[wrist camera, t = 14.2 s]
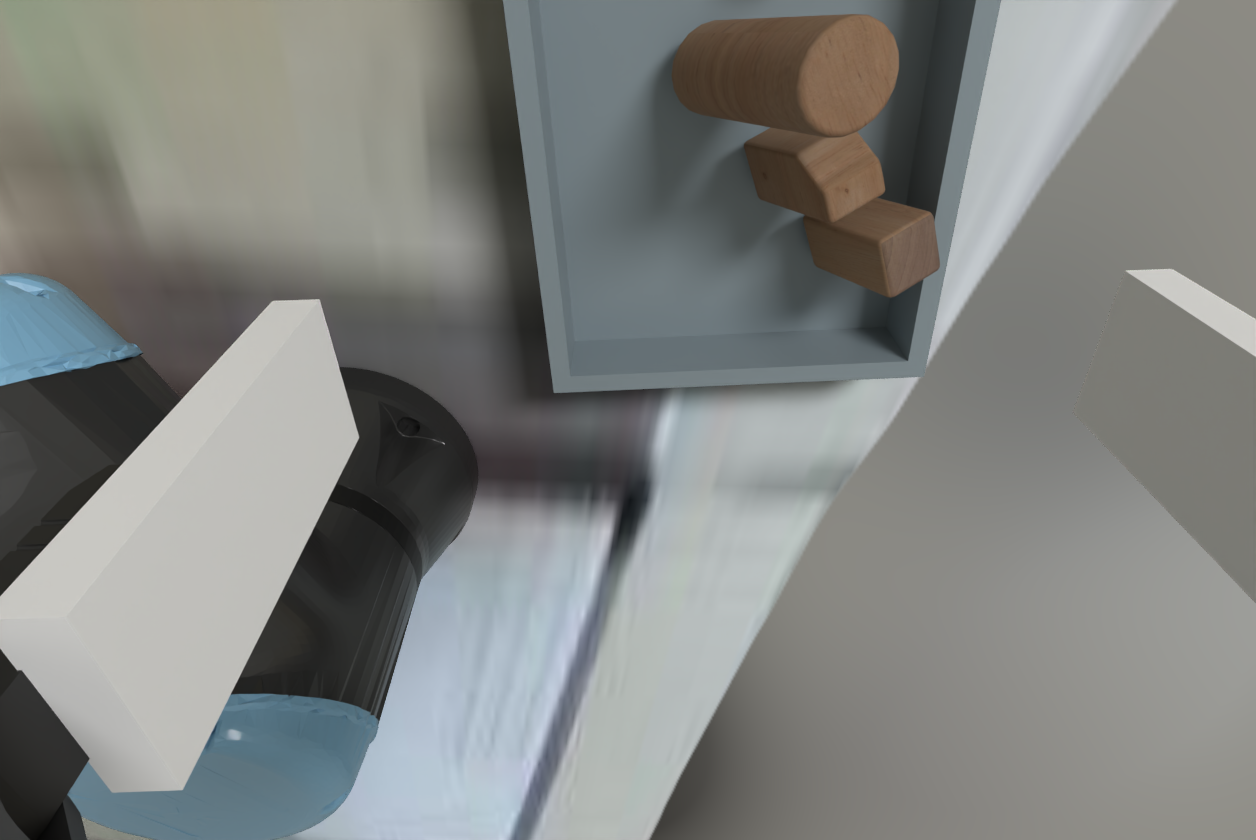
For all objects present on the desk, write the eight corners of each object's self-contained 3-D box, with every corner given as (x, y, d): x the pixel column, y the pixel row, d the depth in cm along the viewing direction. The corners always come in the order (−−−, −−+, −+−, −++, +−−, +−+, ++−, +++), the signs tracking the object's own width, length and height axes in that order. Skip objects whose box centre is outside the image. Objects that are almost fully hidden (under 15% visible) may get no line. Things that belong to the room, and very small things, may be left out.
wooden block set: (866, 218, 41) (1017, 264, 32) (738, 293, 40) (860, 362, 31) (790, -168, 31) (981, -246, 22) (615, -82, 29) (747, -129, 21)
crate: (560, 348, 44) (553, 393, 40) (485, -289, 28) (460, -325, 24) (895, 333, 43) (923, 376, 39) (1009, -327, 28) (1076, -371, 23)
